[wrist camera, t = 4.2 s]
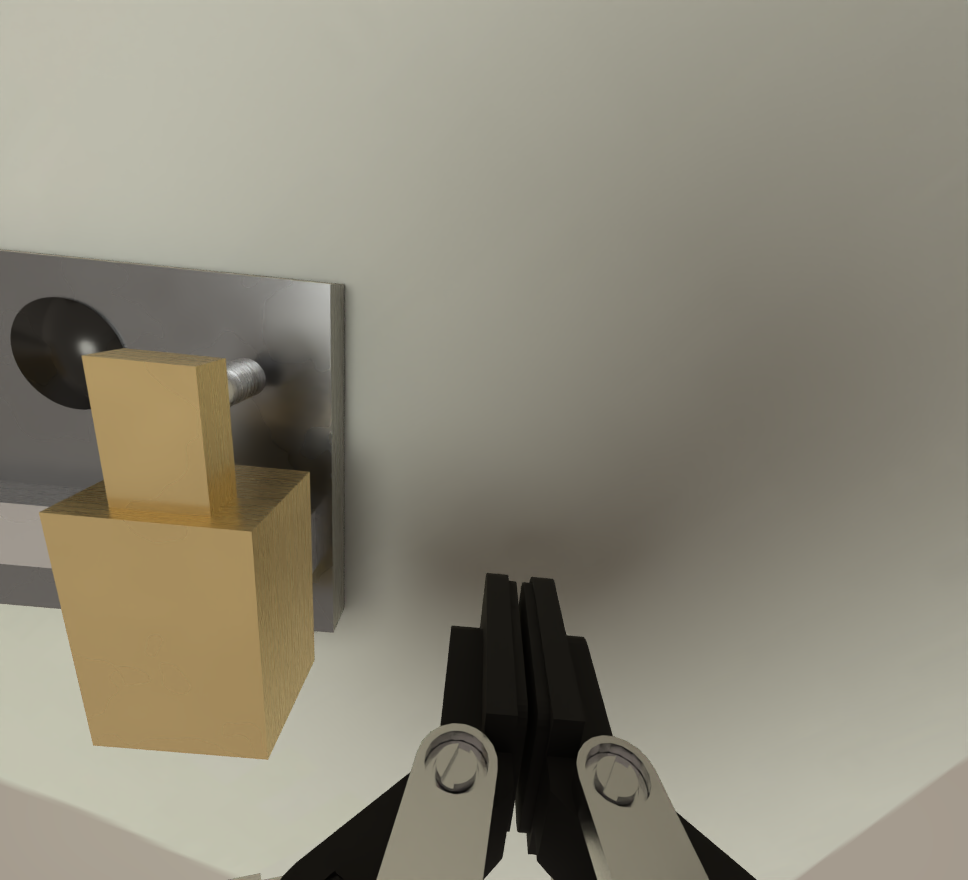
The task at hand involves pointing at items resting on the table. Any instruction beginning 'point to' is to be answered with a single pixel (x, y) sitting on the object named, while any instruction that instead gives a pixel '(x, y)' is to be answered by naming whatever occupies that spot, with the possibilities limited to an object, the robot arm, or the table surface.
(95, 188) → the table surface
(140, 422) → the block
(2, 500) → the hole plate
